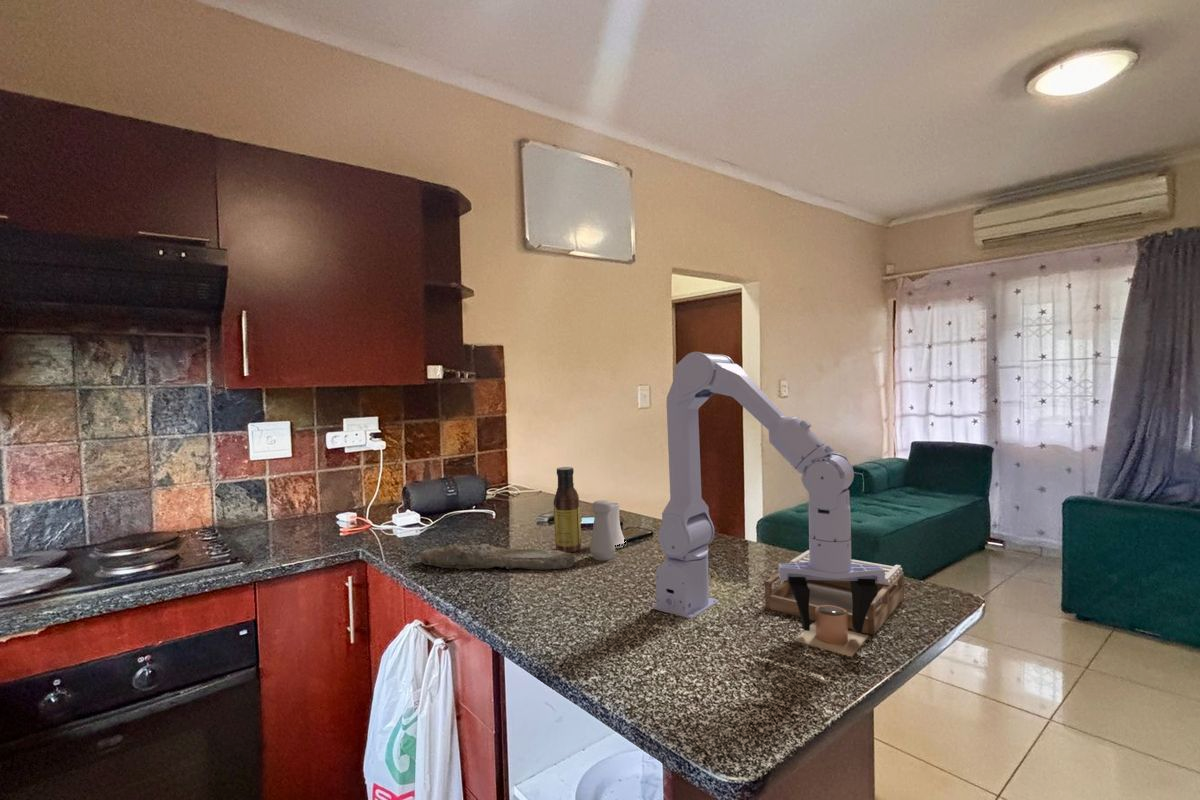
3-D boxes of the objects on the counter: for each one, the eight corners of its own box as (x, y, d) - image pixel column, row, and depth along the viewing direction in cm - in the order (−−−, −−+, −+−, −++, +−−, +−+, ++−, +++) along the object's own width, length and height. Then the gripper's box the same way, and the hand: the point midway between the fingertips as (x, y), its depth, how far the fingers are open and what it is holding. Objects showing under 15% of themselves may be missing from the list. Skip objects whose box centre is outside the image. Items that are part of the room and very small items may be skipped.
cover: (889, 585, 89) (888, 579, 89) (789, 566, 100) (789, 560, 100) (902, 571, 96) (902, 565, 96) (807, 554, 107) (807, 549, 107)
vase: (589, 545, 136) (588, 505, 136) (609, 539, 141) (608, 500, 141) (612, 550, 131) (611, 508, 131) (632, 543, 136) (631, 503, 136)
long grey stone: (569, 581, 115) (577, 568, 124) (570, 555, 115) (578, 545, 125) (410, 568, 119) (430, 557, 129) (411, 544, 119) (431, 534, 129)
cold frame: (873, 637, 82) (873, 604, 82) (765, 610, 93) (764, 581, 93) (904, 599, 96) (903, 572, 96) (806, 580, 107) (806, 555, 107)
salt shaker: (601, 563, 121) (600, 504, 121) (584, 558, 125) (583, 501, 125) (620, 558, 125) (619, 500, 124) (603, 553, 129) (602, 497, 129)
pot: (833, 647, 78) (832, 618, 78) (809, 635, 82) (808, 608, 82) (854, 640, 80) (854, 612, 80) (830, 629, 84) (829, 602, 84)
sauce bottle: (566, 545, 136) (564, 465, 136) (586, 548, 133) (584, 466, 133) (549, 551, 131) (547, 468, 131) (569, 555, 127) (567, 470, 127)
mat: (851, 659, 75) (851, 655, 75) (794, 643, 81) (794, 639, 81) (868, 639, 81) (868, 635, 81) (813, 625, 87) (813, 621, 87)
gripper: (872, 531, 84) (874, 619, 84) (774, 529, 86) (775, 616, 86) (889, 543, 77) (891, 640, 77) (782, 541, 79) (784, 635, 79)
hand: (831, 628), depth 81 cm, fingers open, 7 cm apart
